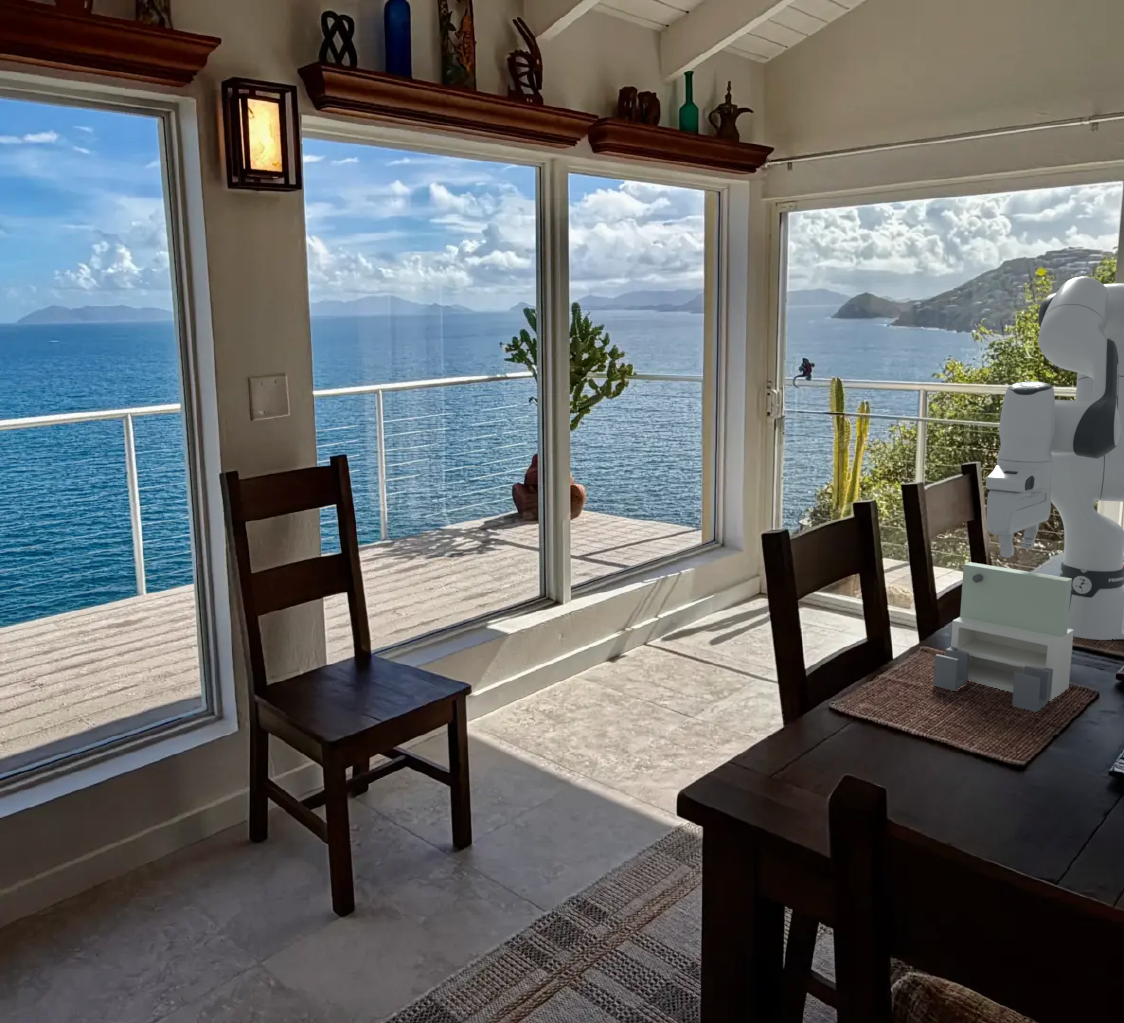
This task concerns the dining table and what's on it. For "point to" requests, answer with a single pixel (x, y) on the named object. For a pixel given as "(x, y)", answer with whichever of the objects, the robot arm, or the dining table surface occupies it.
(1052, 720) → the dining table surface
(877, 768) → the dining table surface
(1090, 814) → the dining table surface
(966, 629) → the cabinet
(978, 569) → the door
